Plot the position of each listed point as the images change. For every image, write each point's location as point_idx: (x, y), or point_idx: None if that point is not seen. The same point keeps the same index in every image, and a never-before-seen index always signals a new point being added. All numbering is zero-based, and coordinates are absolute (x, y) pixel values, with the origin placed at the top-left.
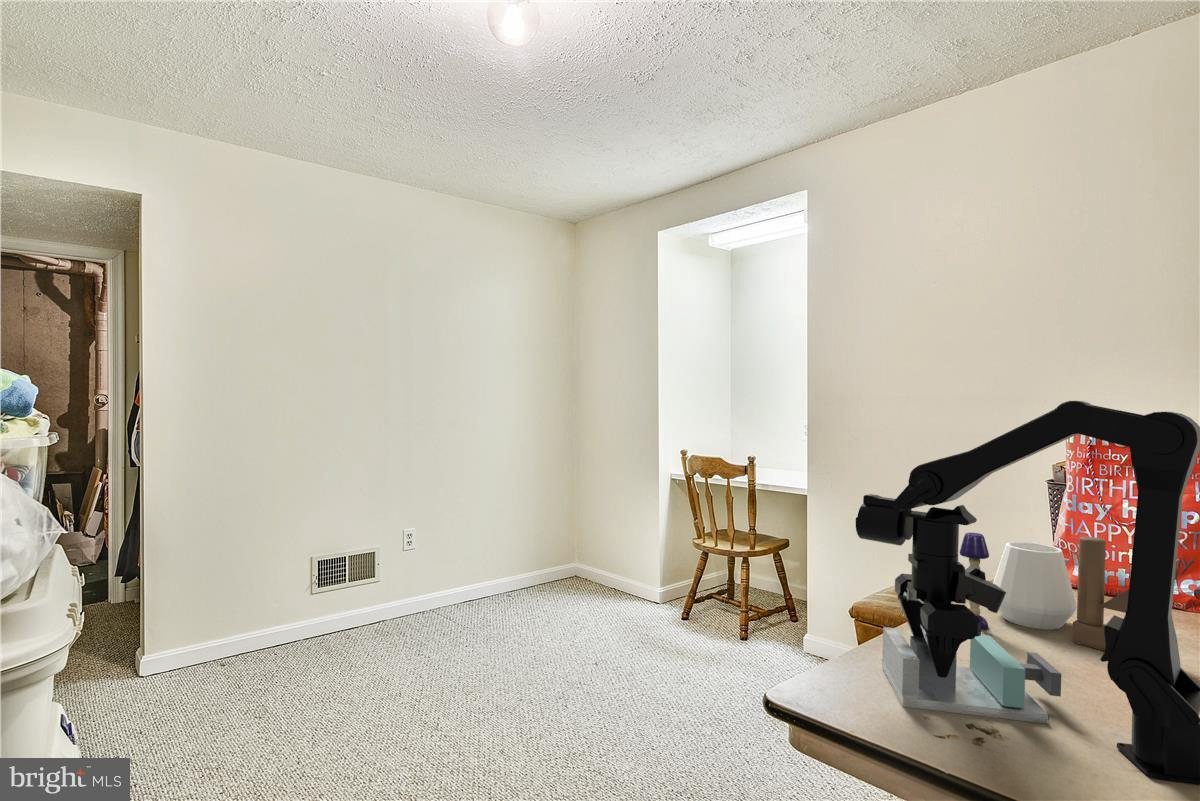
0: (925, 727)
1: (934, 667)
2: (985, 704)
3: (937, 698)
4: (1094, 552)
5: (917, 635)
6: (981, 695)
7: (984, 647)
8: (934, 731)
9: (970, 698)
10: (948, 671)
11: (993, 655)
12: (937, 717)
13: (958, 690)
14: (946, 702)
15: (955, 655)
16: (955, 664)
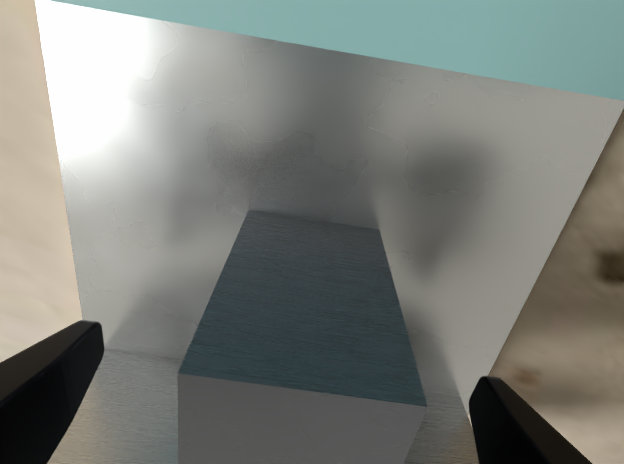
0: (587, 400)
1: (481, 457)
2: (561, 169)
3: (472, 342)
4: None
5: (43, 446)
6: (456, 132)
7: (288, 35)
8: (618, 387)
9: (487, 210)
10: (532, 410)
11: (584, 71)
12: (531, 344)
13: (396, 224)
14: (512, 326)
15: (408, 361)
16: (397, 312)
